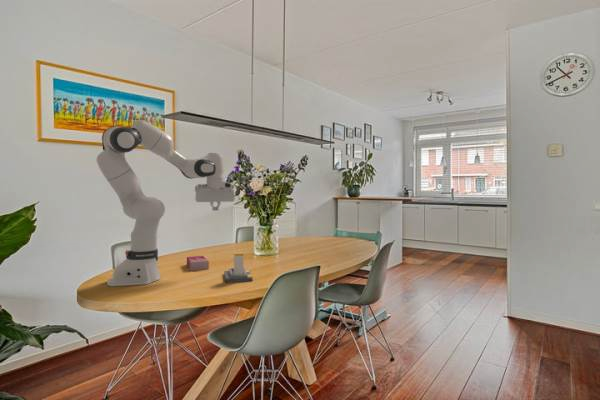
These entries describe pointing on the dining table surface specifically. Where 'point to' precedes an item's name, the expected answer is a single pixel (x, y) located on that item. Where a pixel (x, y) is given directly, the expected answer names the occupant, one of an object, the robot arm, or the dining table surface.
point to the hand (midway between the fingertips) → (215, 210)
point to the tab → (238, 263)
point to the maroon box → (197, 263)
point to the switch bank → (241, 278)
